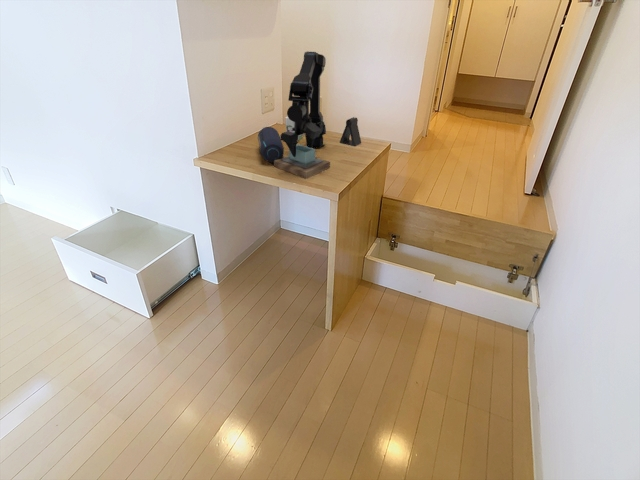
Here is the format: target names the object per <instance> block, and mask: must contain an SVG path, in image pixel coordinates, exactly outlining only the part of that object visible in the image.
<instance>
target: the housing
mask: <svg viewBox="0 0 640 480" xmlns="http://www.w3.org/2000/svg"><path fill="white" fill-rule="evenodd" d="M288 155H289V160H292V161H295V162H298V163H301V164H304V165H307V164H309V163H312V162H314V161H315V157H316V149H315V148H309V147H307V146H306V145H303V144H298V143H297V145H296V157H293V155H292V153H291V151H290V149H289V148H288Z"/></svg>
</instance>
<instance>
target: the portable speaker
mask: <svg viewBox="0 0 640 480" xmlns="http://www.w3.org/2000/svg"><path fill="white" fill-rule="evenodd" d="M257 141H258V146H259V153H260V155H261V157H262V159H264V161H266V162H269V163H274V160H277V159H281V158H282V157H284V155H285V149H284V148H285V147H284V144H283V141H282V140H281V135H280V133H279V131H278V130H277V129H275V128H274V127H273V126H272V127H271V126H266V127H262V129H260V131H259V132H258V134H257Z"/></svg>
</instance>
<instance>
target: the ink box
mask: <svg viewBox="0 0 640 480" xmlns="http://www.w3.org/2000/svg"><path fill="white" fill-rule="evenodd" d="M292 128H294V122H293V121H291V120H290V119H289V118H288V116H285V132H287V131H290V132H293V133H294V132H295V131H292ZM302 139H303V135H302V136H299V137H298V140H297V141H298V142H299V140H302Z"/></svg>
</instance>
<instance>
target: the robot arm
mask: <svg viewBox="0 0 640 480" xmlns="http://www.w3.org/2000/svg"><path fill="white" fill-rule="evenodd" d="M326 60H327V59H326V56H324V55H323V54H319V53H318V52H316V51H304V54H303V61H302V64H301V67H300V71H299V73H298V74H297V75H295V76H294V77H293V80H292V82H291V83H290V86H289V95H288V99H287V100H288V102H291V103H292V104H291V106H289V107H288V109H287V111H286V112H287V113H286V115H287V116H288V118H289V119H290V120H291V121H293V122H294V128H292V131H295V132H294V133H293V132H290V131H287V132H286V131H284V132H281V134H280V139H281V141H282V143H285V145H286V146H287V147H288V150H289V149H290V151H291V153H292V155H293V157H296V145H298V143H299V140H298V137H299V136H302V137H303V136H305V141H306V142H305V143H306V145H305V146H306V147H309V148H312V149H315V150H317V149H320V148H322V147H324V146H325V144H324V135H327V131H326V130H327V128H326V124H325V121H324V116H323V114H322V113H321V108H320V107H321V76H322V74H323V73H324V70H325V68H326ZM287 116H286V117H287ZM297 140H298V141H297Z"/></svg>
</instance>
